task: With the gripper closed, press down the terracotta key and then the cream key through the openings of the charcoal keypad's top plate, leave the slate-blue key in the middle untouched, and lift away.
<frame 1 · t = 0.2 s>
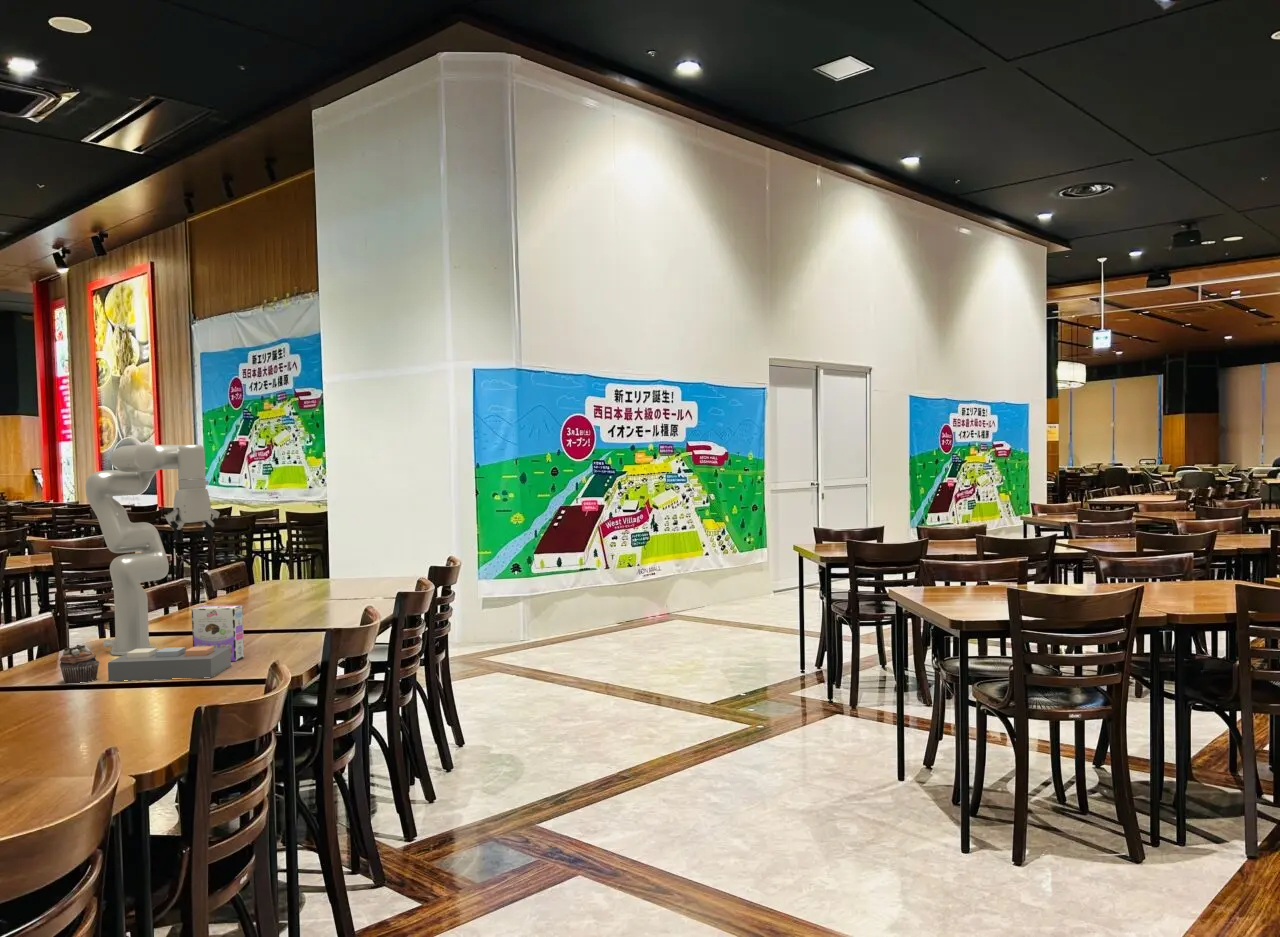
hand: (194, 541, 297), 37 cm above the table, tool pointing down, fingers open, 9 cm apart
terracotta key: (199, 654, 282), point 5 cm above the table, slide at 0.0 cm
cupcake: (80, 681, 275), on the table
keypad: (171, 673, 281), on the table
candy box: (218, 660, 300), on the table
cream key: (142, 656, 281), point 5 cm above the table, slide at 0.0 cm
slate key: (171, 655, 281), point 5 cm above the table, slide at 0.0 cm
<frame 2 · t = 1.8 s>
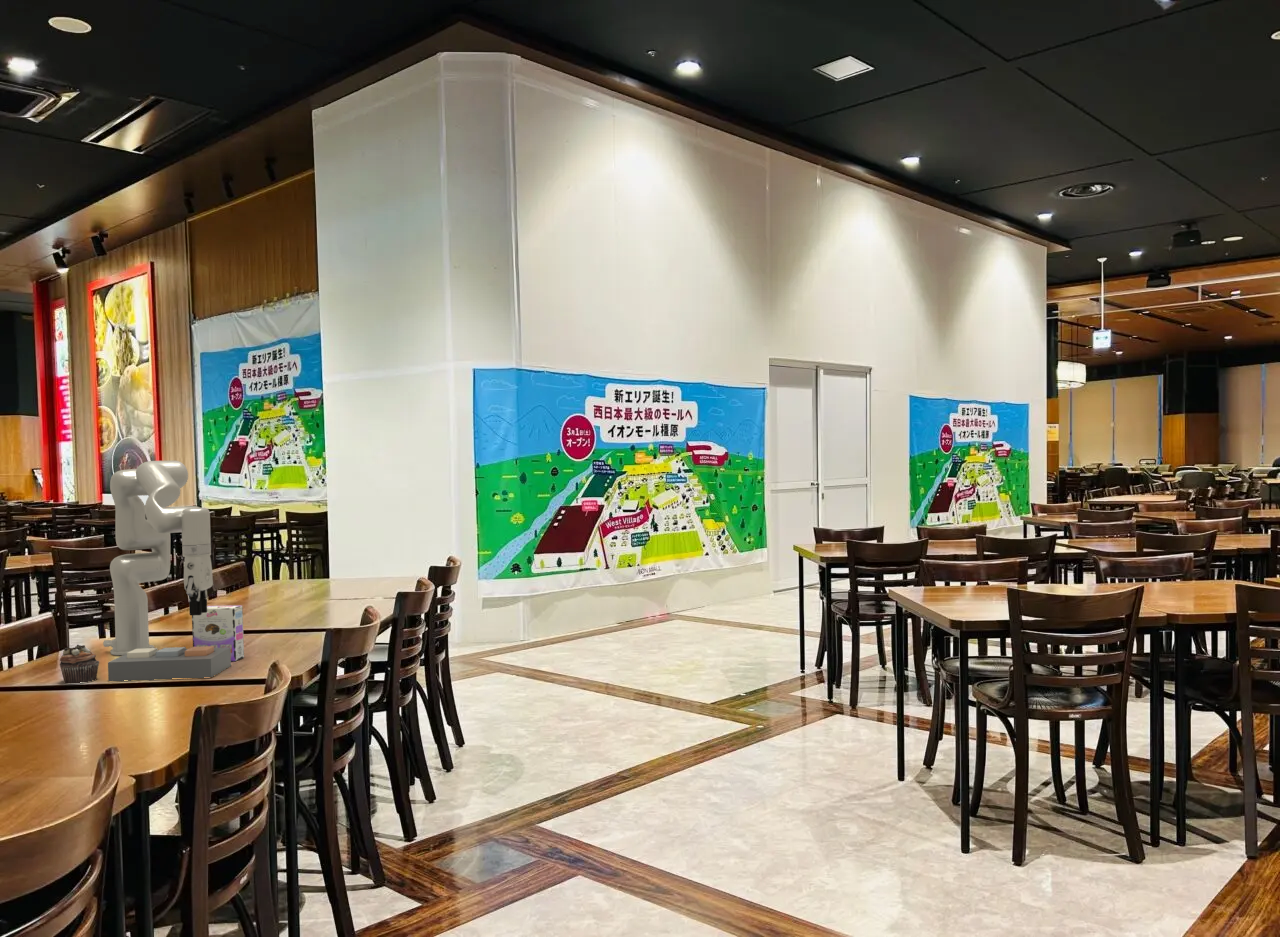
hand: (198, 613, 282), 17 cm above the table, tool pointing down, fingers open, 3 cm apart
nothing on the table moved.
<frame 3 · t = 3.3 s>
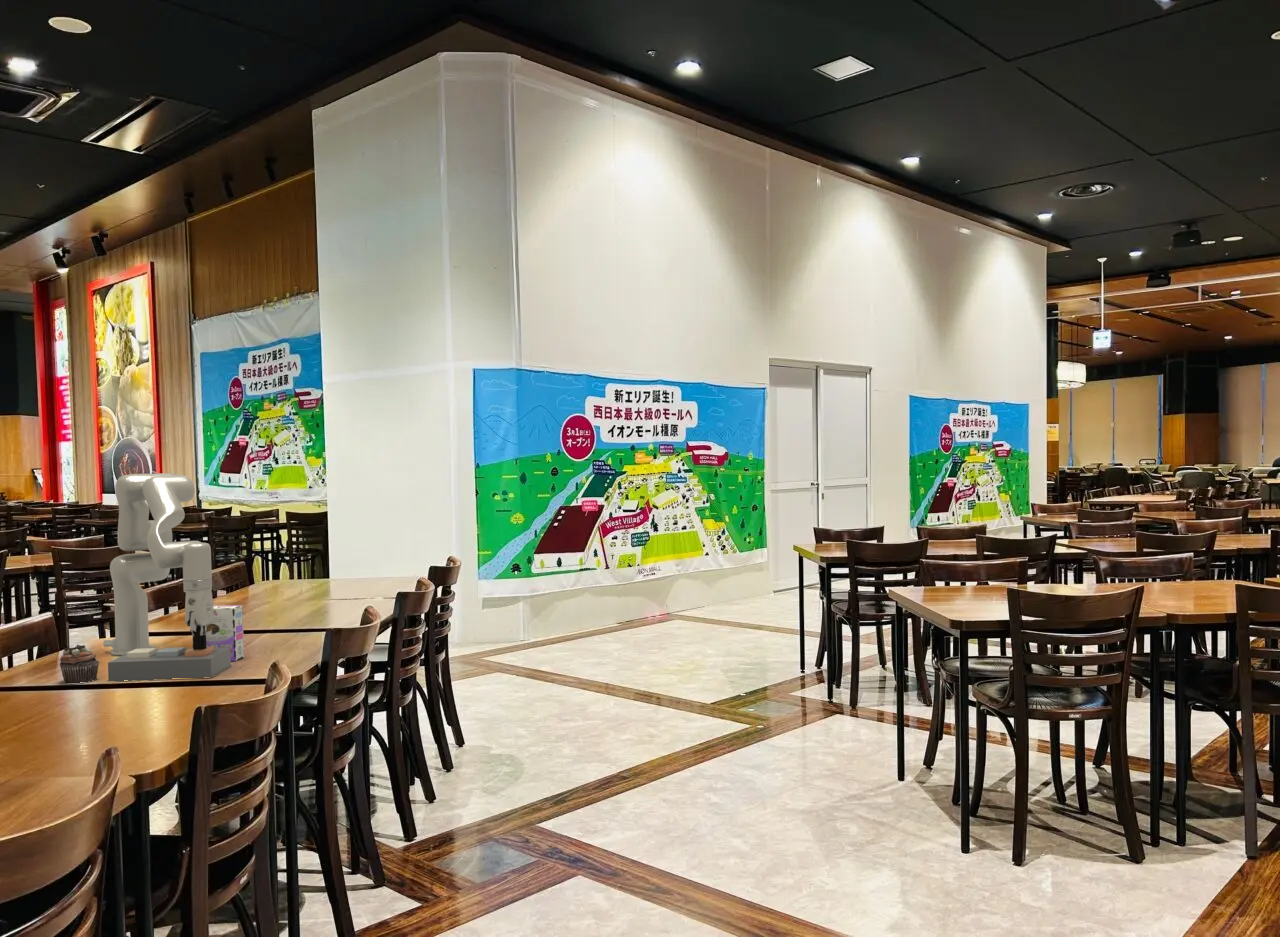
hand: (199, 648, 282), 7 cm above the table, tool pointing down, fingers closed
terracotta key: (199, 654, 282), point 5 cm above the table, slide at 0.1 cm, touching gripper
everything else where it was.
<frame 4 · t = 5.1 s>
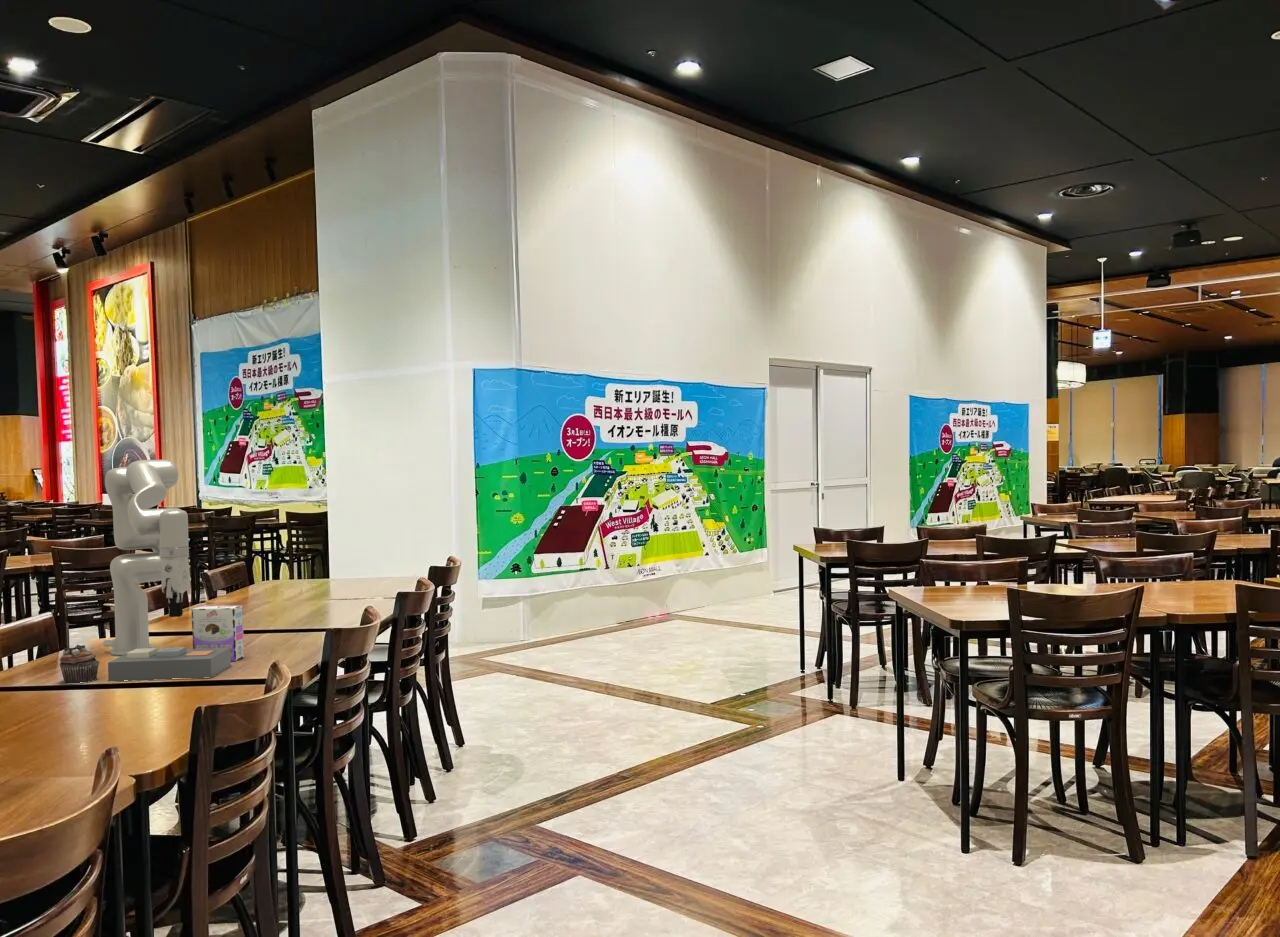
hand: (176, 616, 281), 17 cm above the table, tool pointing down, fingers closed
terracotta key: (199, 658, 282), point 4 cm above the table, slide at 1.3 cm
everything else where it was.
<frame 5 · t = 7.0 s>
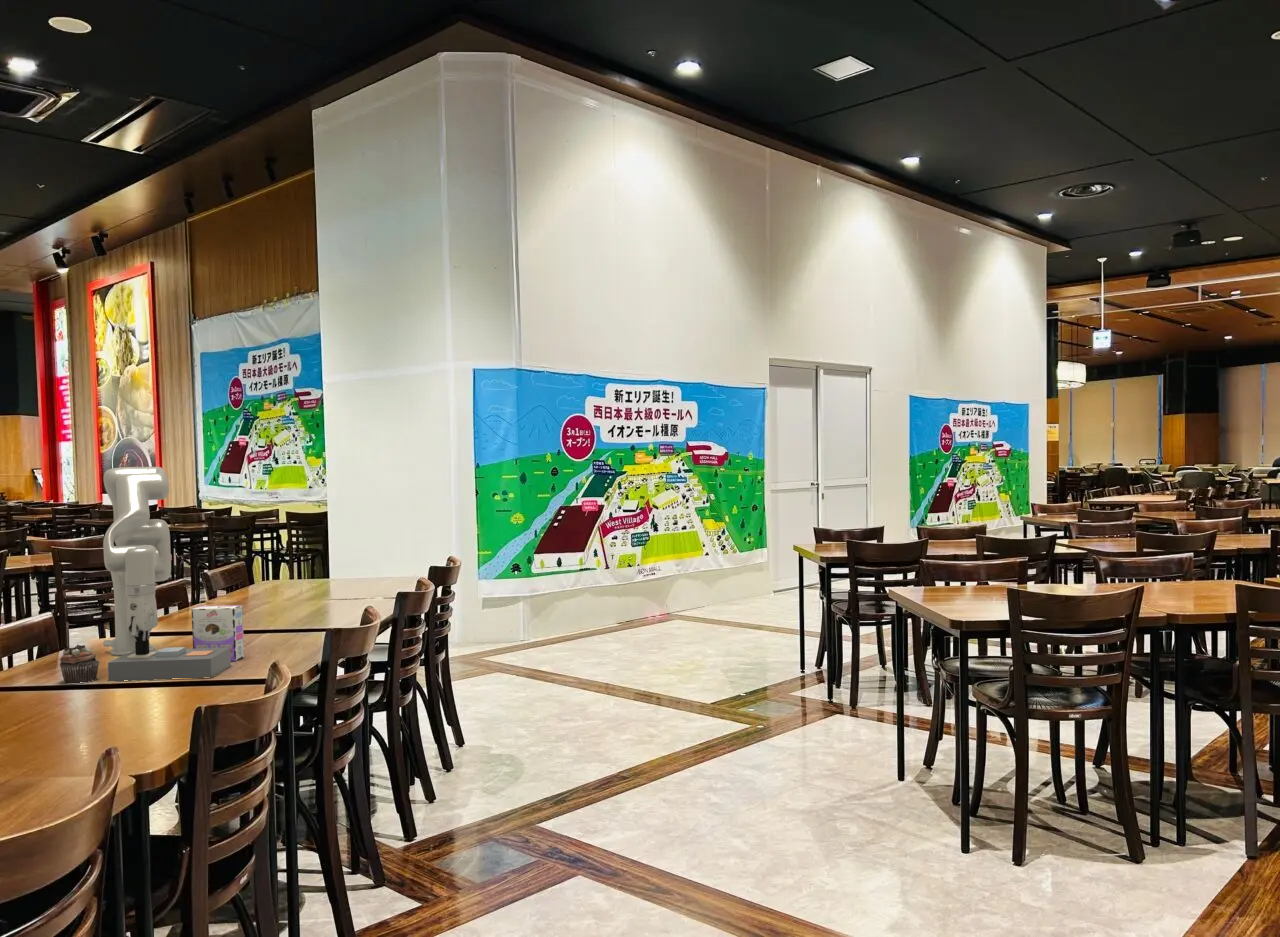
hand: (142, 654, 281), 6 cm above the table, tool pointing down, fingers closed
cream key: (142, 660, 281), point 4 cm above the table, slide at 1.1 cm, touching gripper
everything else where it was.
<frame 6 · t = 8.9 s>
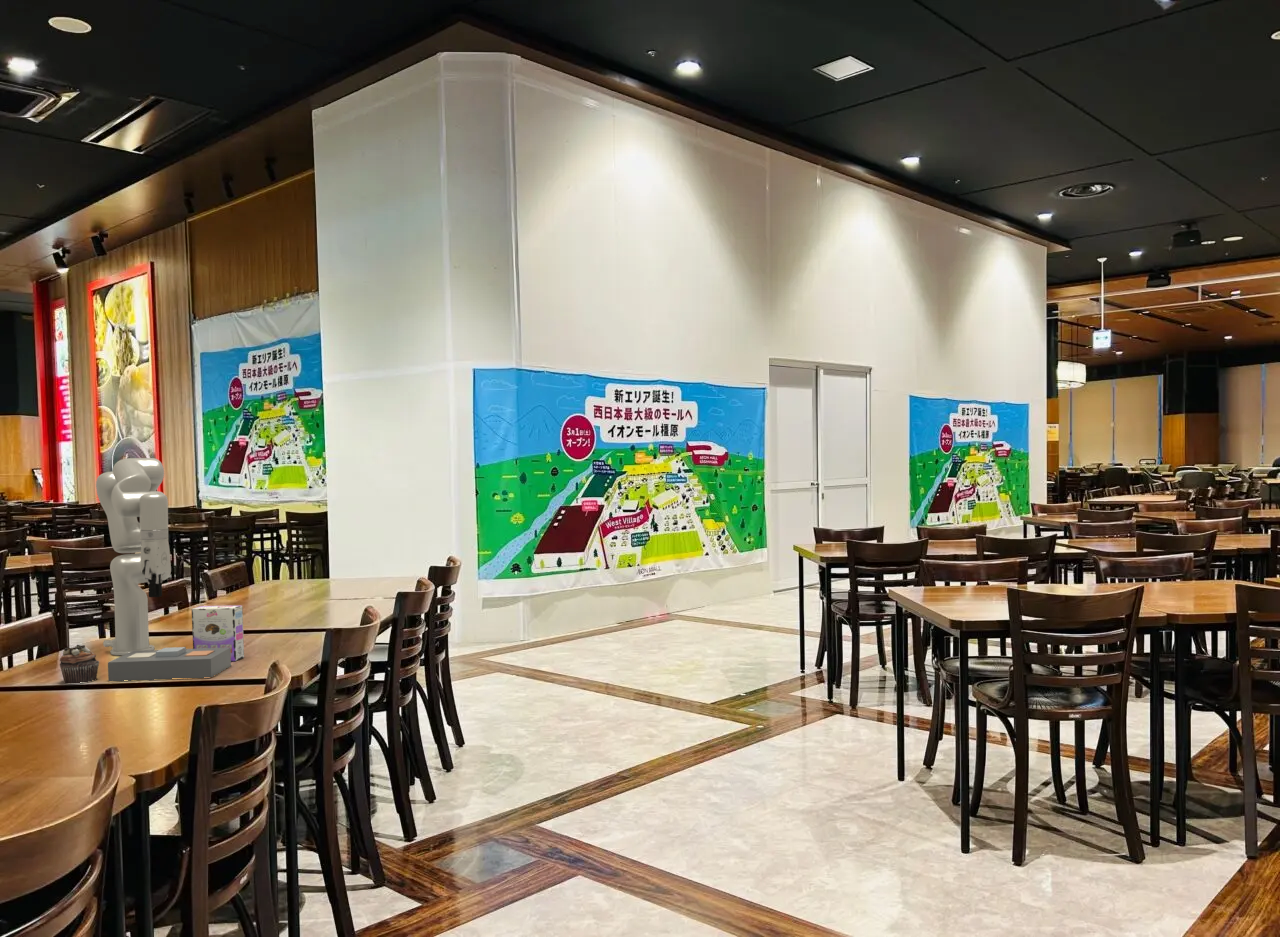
hand: (155, 596, 290), 21 cm above the table, tool pointing down, fingers closed
cream key: (142, 660, 281), point 4 cm above the table, slide at 1.3 cm
everything else where it was.
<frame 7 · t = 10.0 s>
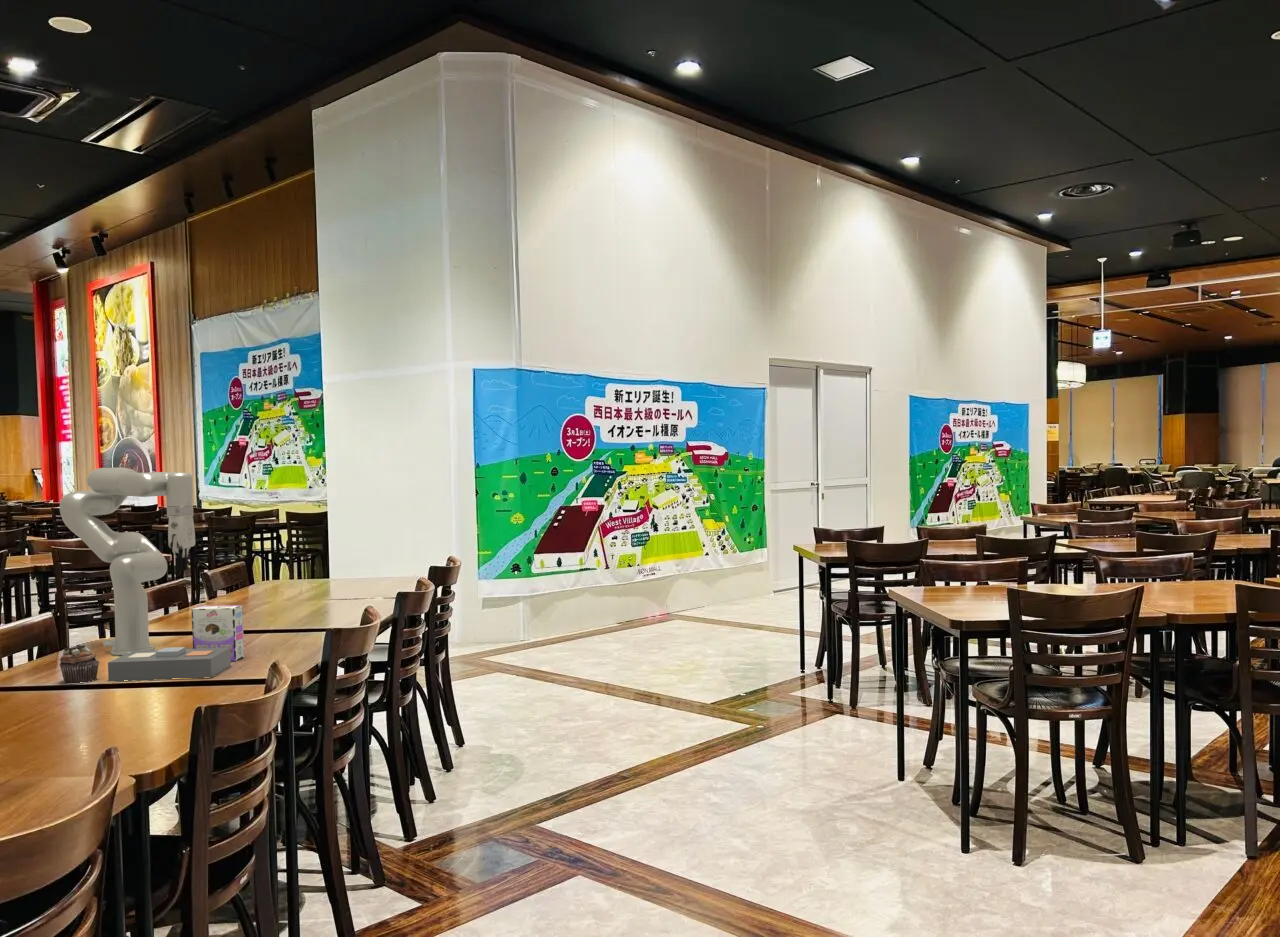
hand: (181, 570, 305), 27 cm above the table, tool pointing down, fingers closed
nothing on the table moved.
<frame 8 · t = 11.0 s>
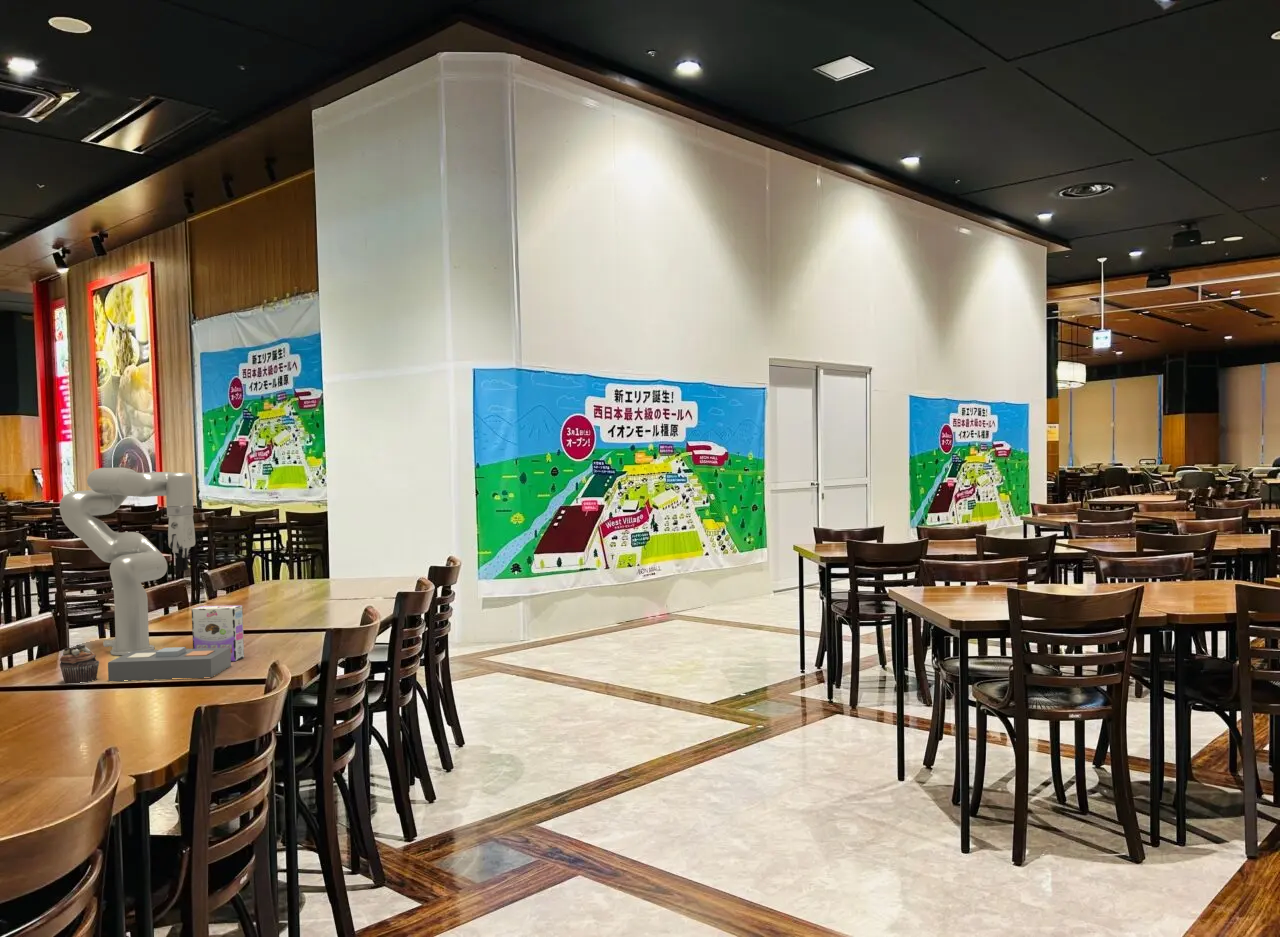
hand: (181, 570, 305), 27 cm above the table, tool pointing down, fingers closed
nothing on the table moved.
at the end: terracotta key slide at 1.3 cm; cream key slide at 1.3 cm; slate key slide at 0.0 cm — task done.
